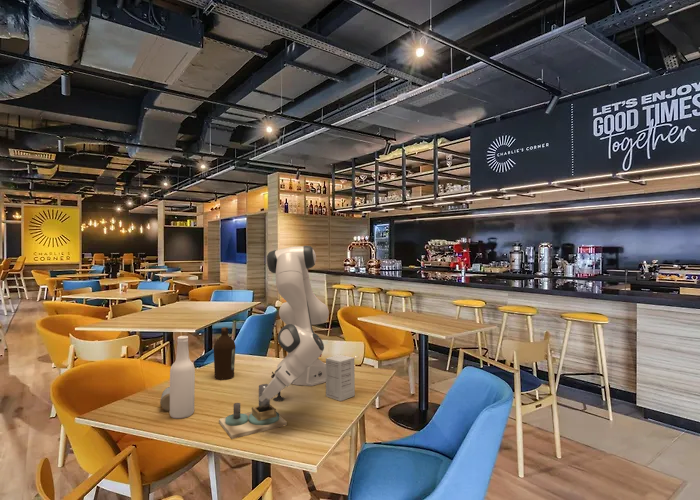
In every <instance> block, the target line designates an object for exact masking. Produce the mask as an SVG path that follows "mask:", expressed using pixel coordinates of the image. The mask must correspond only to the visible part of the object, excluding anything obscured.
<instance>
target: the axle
mask: <svg viewBox="0 0 700 500" xmlns="http://www.w3.org/2000/svg"><path fill="white" fill-rule="evenodd" d="M268 384H269V383H263V384H259V385H258V398H259V397H260V396H261V395H262V392H263V391H264V389H265V388H266V387H267V386H268ZM270 405H271V399H270V400H268V399H267V398H266V399H264V400H263V401H262V402H261V401H260V400H259V399H258V406H259V412H264V411H268V410H270Z"/></svg>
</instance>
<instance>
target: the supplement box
mask: <svg viewBox="0 0 700 500" xmlns="http://www.w3.org/2000/svg"><path fill="white" fill-rule="evenodd" d="M325 364H326V382H325V397H326V398H330V399H333V400H336V401H339V402H343V401H345V400H348V399H350V398H353V397H355V395H356V392H355V387H356V386H355V385H356V384H355V375H356V374H355V357H352V356H347V355H343V354H337V355H333V356H330V357H325Z"/></svg>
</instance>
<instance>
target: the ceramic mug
mask: <svg viewBox="0 0 700 500" xmlns="http://www.w3.org/2000/svg"><path fill="white" fill-rule="evenodd" d="M159 404H160V407H161V409H163V410H164V411H166V412H170V386H168V387H166V388H165V389H164V390H163V391H162V393H161V398H160V401H159Z"/></svg>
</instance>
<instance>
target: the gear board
mask: <svg viewBox="0 0 700 500" xmlns="http://www.w3.org/2000/svg"><path fill="white" fill-rule="evenodd" d="M218 424H220V426H221V427H222V428H223V430H224V431H225V432H226V434H227V435H228V436H229V438H230V439H231V440H233V439H237V437H238V438H241V437H242V438H243V437H245V436H250V435H253V434H257V433H261V432H265V431H269V430H273V429H278V428H280V427H281V428H282V427H285V426H288V421H286V419H284V418H283V417H282V416H281V415H280V413H279V412H278V411H277V409H276V408H275V407H274V406H273V405H271V404H270V410H268V411H264V412H259V405H257V406H253V407H251V411H250V412H249V411H248V412H244V413H241V402H234V403H233V413H232V414H230V415H227V416H226V417H221V418H219V419H218Z"/></svg>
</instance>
